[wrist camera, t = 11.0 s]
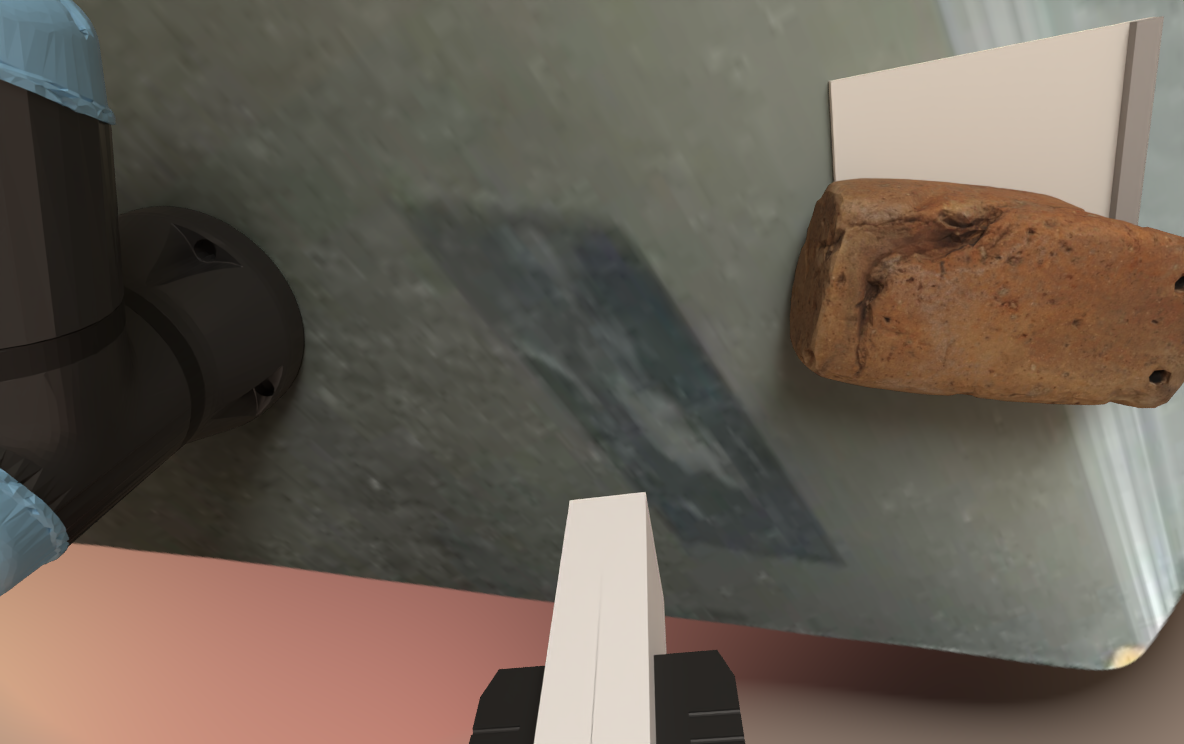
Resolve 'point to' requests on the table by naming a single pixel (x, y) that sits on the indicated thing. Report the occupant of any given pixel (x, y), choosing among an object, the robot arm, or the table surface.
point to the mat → (1012, 118)
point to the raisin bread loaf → (987, 296)
